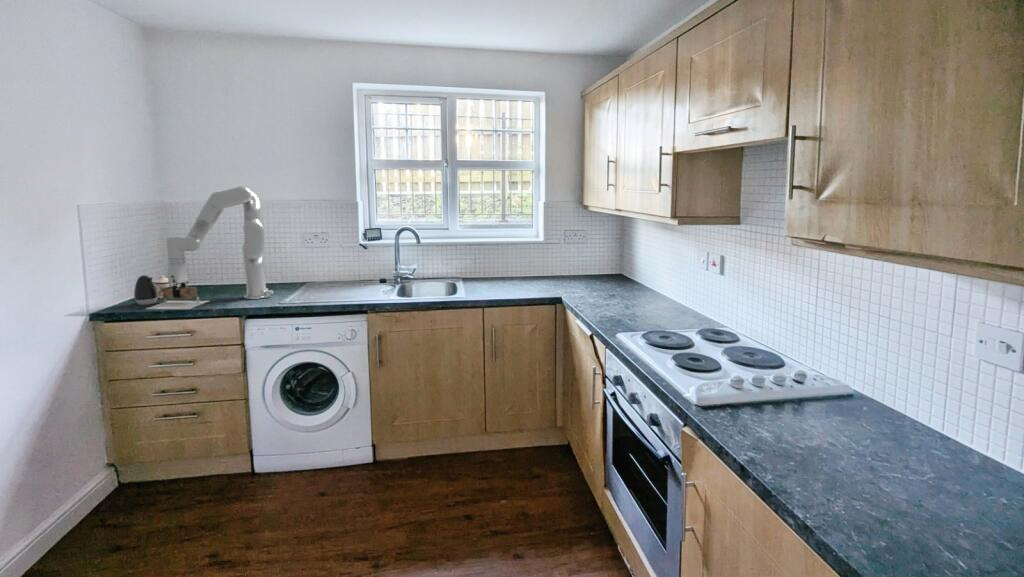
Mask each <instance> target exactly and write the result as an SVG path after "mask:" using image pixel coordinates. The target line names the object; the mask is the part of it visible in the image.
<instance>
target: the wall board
mask: <svg viewBox="0 0 1024 577" xmlns="http://www.w3.org/2000/svg"><path fill="white" fill-rule="evenodd" d="M195 299H196V300H168V299H163V302H161V303H158V304H155V305H152V306H149V307H146V308H145V310H190V309H193V308H195V307H196V308H197V306H198V307H199V306H201V305H204V304H206V303H208V302H209V303H210V300H200V296H197V297H195Z"/></svg>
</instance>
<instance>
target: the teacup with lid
mask: <svg viewBox="0 0 1024 577" xmlns="http://www.w3.org/2000/svg"><path fill="white" fill-rule="evenodd" d="M153 283H154V285H155V287H156V290H157V293H158V297H157V299H158V298H159V299H160V300H161V299H163V289H164V288H167V287H171V286H170V285H169V283H168V277H165V275H161V276H160V278H158V279H156V280H154V281H153ZM159 299H158V300H159ZM163 300H164V299H163Z"/></svg>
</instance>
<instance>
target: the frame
mask: <svg viewBox="0 0 1024 577" xmlns="http://www.w3.org/2000/svg"><path fill="white" fill-rule="evenodd" d="M197 289H198V288H197V286H187V287H181V286H179V287H178V290H179V292H180V297H173V290H172V288H171V287H167V288H164V289H163V298H164V299H166V300H168V299H170V300H171V299H173V300H174V299H175V300H176V299H177V300H178V299H179V300H189V299H191V300H192V299H194V298H196V297H198V290H197ZM164 299H163V300H164Z"/></svg>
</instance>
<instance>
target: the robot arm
mask: <svg viewBox="0 0 1024 577" xmlns="http://www.w3.org/2000/svg"><path fill="white" fill-rule="evenodd" d="M237 205H238V206H239V205H242V206H243V227H242V228H243V232H244V234H243V236H244V239H243V241H244V243H243V245H242V254H243V262H244V274H245V283H246V284H245V285H246V294H245V295H244V296H243V298H244V299H247V300H259V299H260V298H261V299H265V298H269V297H270V295H273V294H274V291H273V289H271V290H269V288H268V287H266V275H265V262H264V252H265V227H264V225H263V224H262V205H261V202H260V199H259V197H258V195H257V194H256V193H255V192H253V190H251V189H249V188H248V187H246V186H244V185H239V186H236V187H233V188H230V189H226V190H225V189H224V190H222V191H214V192H212V193H211V194H210V196H209V197H208V199H207V201H206V202H205V204H204V206H203V207H202V209H201V210H200V212H199V214H198V216H197V218H196V219H195V221H194V223H193V225H192V226H191V228H190V230H189V231H188V233H187V234H186V236H185V237H181V236H170V237H169V236H168V237H167V238H166V240H165V242H166V252H167V263H168V266H167V278H168V283H169V285H170V286H171V288H172V290H173V297H180V292H179V290H178V287H189V286H188V284H189V280H190V277H189V276H188V275H189V273H188V269H187V264H186V254H185V251H186V252H197V251H198V250H199V249H201V247H202V246H201V245H202V243H203V241H204V239H205V238H206V236H207V235H208V233H209V231H210V230H211V229H212V228H213V227H214V226H215V224H216V223H217V221H218V220H219V218H220V216H221V214H222V213H223V212H224V210H225V209H226V208H230V207H234V206H235V207H236V206H237Z"/></svg>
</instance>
